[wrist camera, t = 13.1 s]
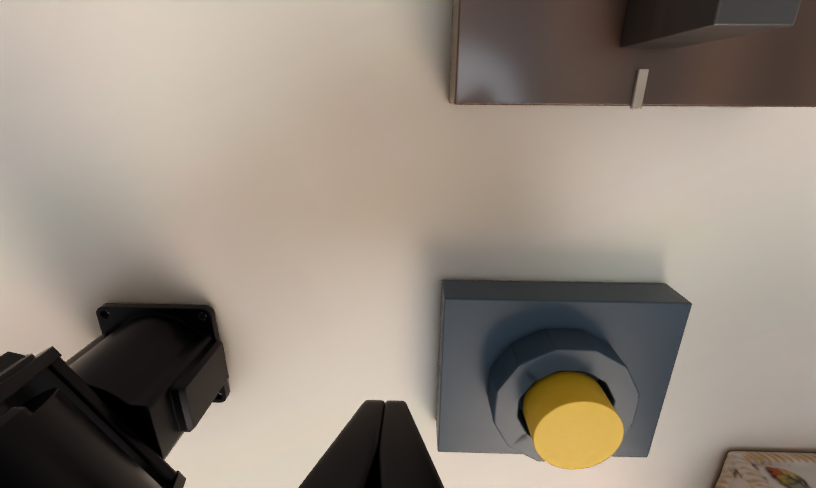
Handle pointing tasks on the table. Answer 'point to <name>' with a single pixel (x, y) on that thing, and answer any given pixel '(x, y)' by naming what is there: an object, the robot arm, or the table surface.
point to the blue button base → (551, 356)
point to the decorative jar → (768, 470)
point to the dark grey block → (701, 20)
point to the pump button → (571, 420)
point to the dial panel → (619, 60)
